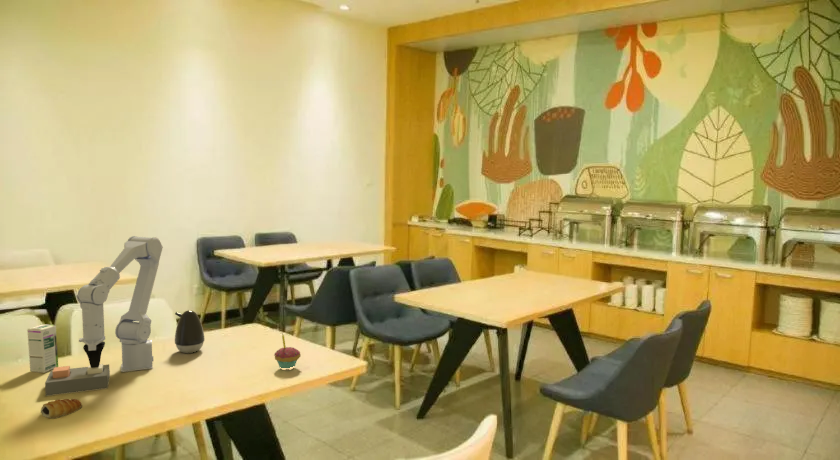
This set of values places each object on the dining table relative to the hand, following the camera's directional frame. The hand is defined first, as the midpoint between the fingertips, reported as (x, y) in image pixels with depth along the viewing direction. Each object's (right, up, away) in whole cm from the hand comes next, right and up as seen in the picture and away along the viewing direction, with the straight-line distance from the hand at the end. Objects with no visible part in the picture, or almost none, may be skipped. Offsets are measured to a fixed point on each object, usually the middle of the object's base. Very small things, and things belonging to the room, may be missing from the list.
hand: (95, 366), depth 181 cm
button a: (0, -3, 0) cm, 4 cm away
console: (-4, -6, -1) cm, 7 cm away
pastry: (+2, -8, -21) cm, 22 cm away
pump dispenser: (+16, -2, +34) cm, 38 cm away
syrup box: (-24, -4, +13) cm, 27 cm away
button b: (-8, -3, -3) cm, 9 cm away
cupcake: (+56, -5, +17) cm, 58 cm away
